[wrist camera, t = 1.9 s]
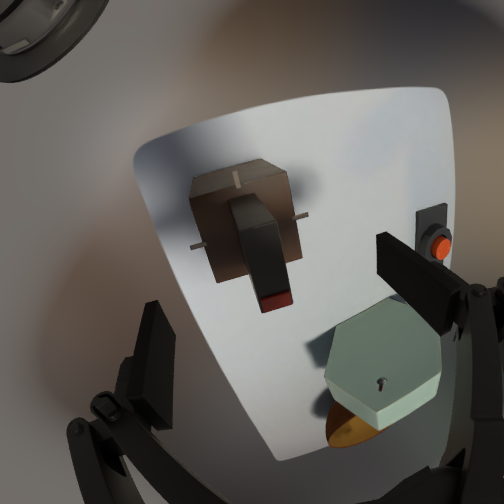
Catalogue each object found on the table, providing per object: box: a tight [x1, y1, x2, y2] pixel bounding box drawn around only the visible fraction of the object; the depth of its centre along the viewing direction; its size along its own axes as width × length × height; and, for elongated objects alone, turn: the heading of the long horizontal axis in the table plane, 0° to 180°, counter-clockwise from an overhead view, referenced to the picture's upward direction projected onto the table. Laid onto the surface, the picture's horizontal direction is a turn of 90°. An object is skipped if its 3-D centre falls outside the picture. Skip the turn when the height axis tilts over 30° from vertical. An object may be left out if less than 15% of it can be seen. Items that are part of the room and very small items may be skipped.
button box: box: [415, 203, 452, 264], centre depth 39 cm, size 12×7×2 cm, turn 14°
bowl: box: [326, 385, 392, 448], centre depth 49 cm, size 18×18×10 cm
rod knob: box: [228, 193, 293, 313], centre depth 20 cm, size 6×2×7 cm, turn 13°
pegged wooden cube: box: [189, 159, 308, 283], centre depth 28 cm, size 10×10×10 cm
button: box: [431, 236, 451, 260], centre depth 37 cm, size 4×4×2 cm
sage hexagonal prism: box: [324, 298, 441, 431], centre depth 37 cm, size 17×8×21 cm
